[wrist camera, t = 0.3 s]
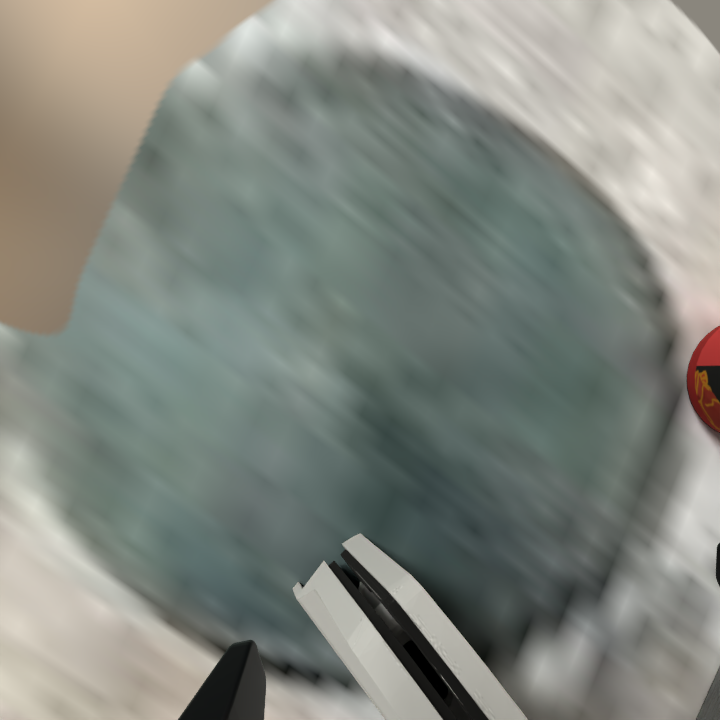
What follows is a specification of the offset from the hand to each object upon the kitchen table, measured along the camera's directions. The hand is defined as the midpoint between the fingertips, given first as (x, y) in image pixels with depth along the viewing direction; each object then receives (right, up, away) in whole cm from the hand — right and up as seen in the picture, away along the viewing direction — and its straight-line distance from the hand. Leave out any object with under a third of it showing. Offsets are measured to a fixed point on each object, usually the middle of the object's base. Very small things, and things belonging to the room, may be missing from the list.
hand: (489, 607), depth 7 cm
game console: (+2, -13, +15) cm, 20 cm away
